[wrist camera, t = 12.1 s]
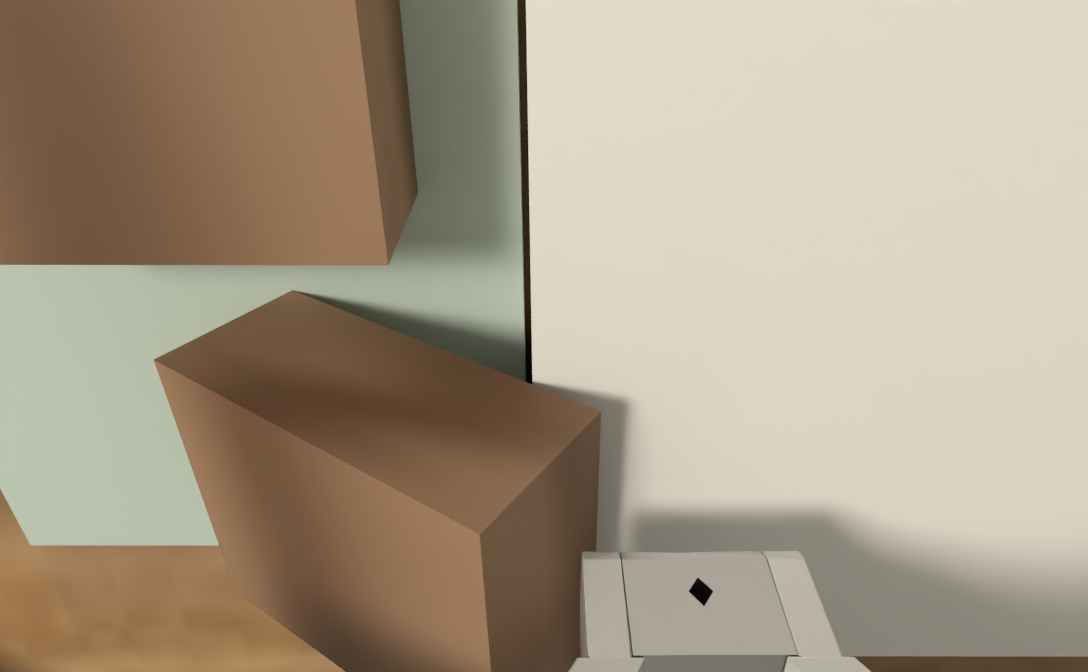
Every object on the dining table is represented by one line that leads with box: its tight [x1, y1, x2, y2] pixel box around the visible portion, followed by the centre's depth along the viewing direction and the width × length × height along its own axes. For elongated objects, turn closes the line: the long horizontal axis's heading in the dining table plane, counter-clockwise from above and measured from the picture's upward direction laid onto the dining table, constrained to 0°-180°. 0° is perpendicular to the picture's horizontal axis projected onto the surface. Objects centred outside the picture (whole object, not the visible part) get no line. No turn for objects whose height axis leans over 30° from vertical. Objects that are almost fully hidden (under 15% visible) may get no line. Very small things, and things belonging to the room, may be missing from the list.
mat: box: [0, 0, 526, 545], centre depth 12 cm, size 11×14×1 cm
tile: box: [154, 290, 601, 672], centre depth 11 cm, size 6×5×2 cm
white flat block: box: [526, 0, 1088, 657], centre depth 11 cm, size 15×14×3 cm
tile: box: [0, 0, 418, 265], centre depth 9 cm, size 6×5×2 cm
